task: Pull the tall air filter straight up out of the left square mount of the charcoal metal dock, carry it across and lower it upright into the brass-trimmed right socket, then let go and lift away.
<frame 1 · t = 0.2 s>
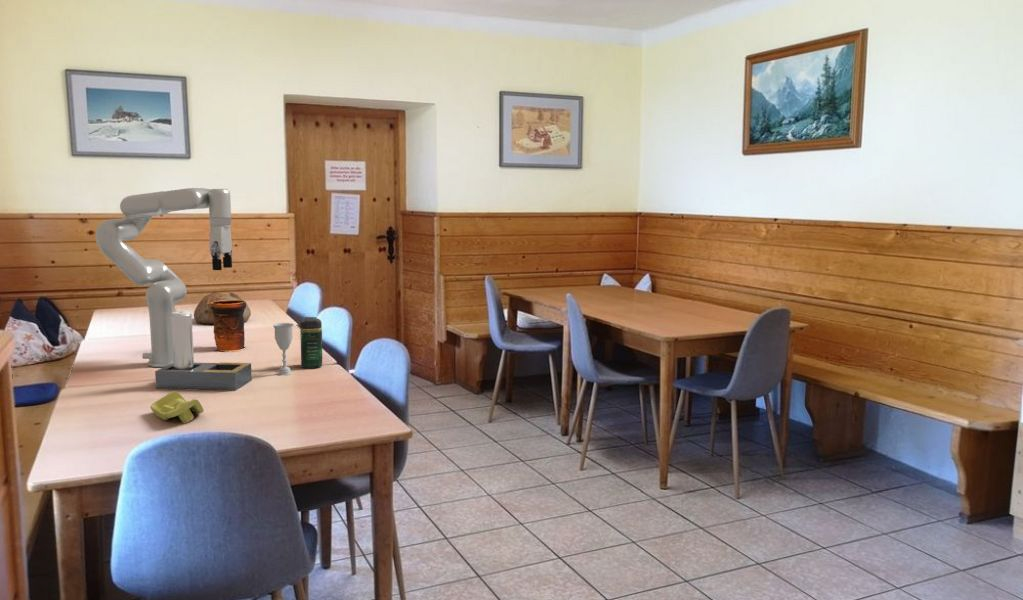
hand: (222, 268, 292), 37 cm above the table, tool pointing down, fingers open, 9 cm apart
chalice: (284, 374, 284), on the table
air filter: (184, 384, 268), resting in dock
dock: (205, 384, 267), on the table
coffee jar: (312, 366, 297), on the table
bread: (222, 322, 395), on the table
vessel: (230, 349, 329), on the table
plastic component: (178, 419, 228), on the table
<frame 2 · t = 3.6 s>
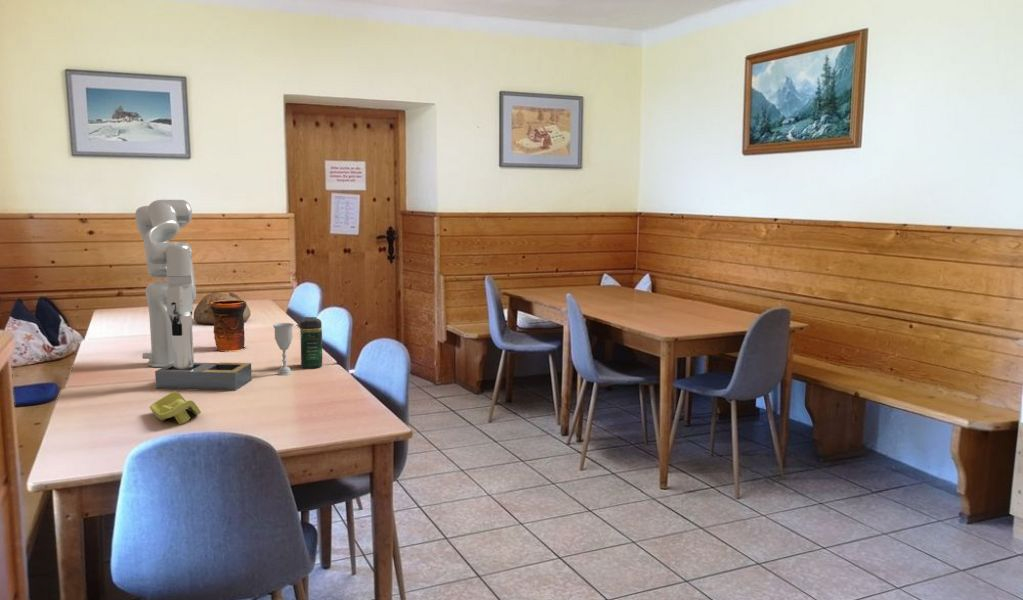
hand: (182, 333, 265), 18 cm above the table, tool pointing down, fingers closed on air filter, 6 cm apart
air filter: (185, 384, 268), resting in dock, touching gripper
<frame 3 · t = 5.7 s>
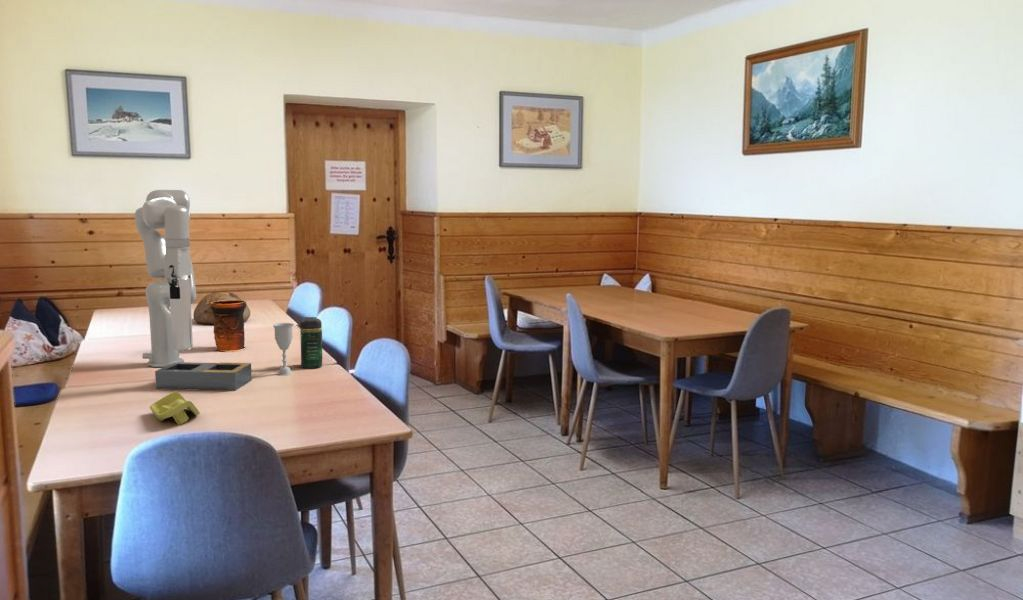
hand: (180, 296, 264), 30 cm above the table, tool pointing down, fingers closed on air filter, 6 cm apart
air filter: (182, 348, 267), point 12 cm above the table, touching gripper
when the fingers open (18 cm above the table, at t = 9.7 s): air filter stays where it is, resting in dock.
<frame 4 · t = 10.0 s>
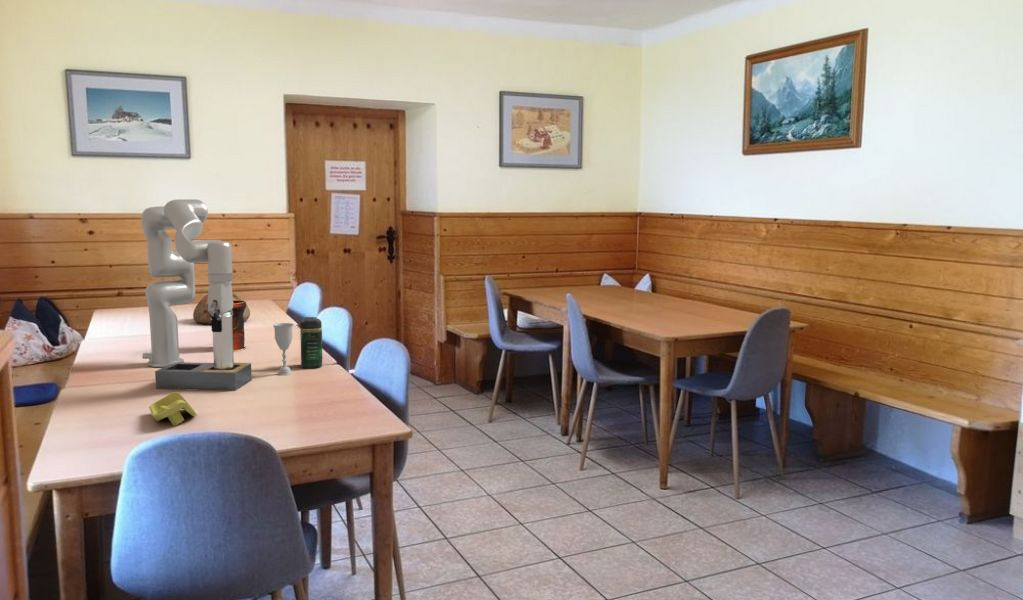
hand: (222, 329, 264), 19 cm above the table, tool pointing down, fingers open, 9 cm apart
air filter: (224, 385, 267), resting in dock
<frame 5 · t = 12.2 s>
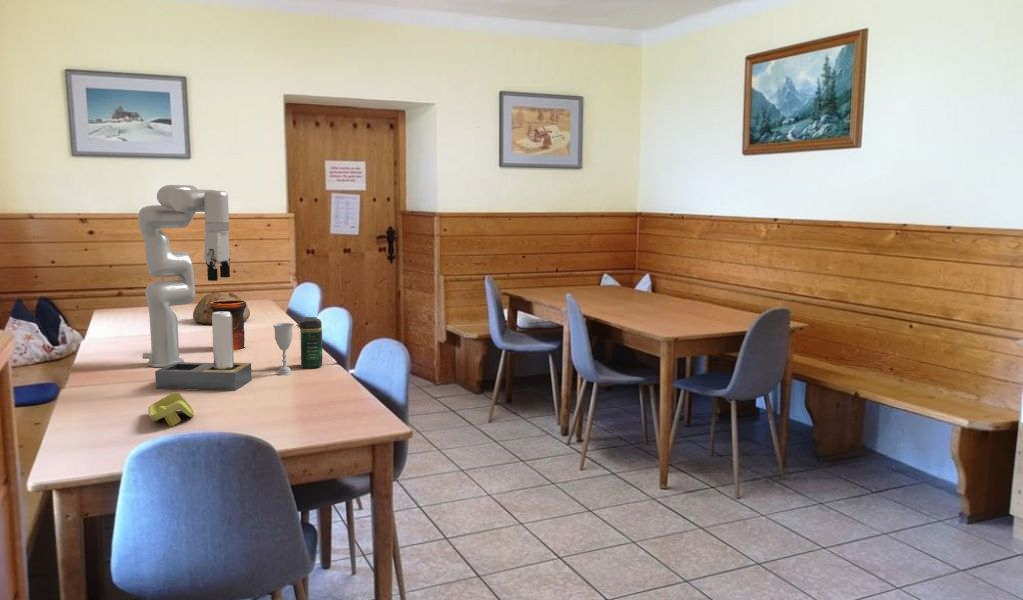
hand: (219, 278, 264), 36 cm above the table, tool pointing down, fingers open, 9 cm apart
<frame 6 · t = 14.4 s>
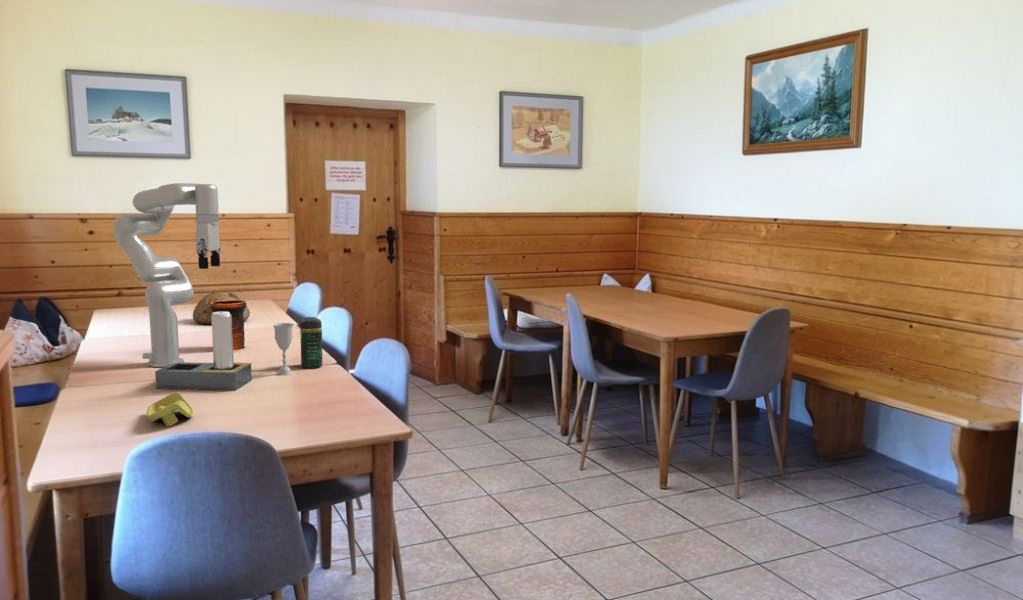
hand: (209, 267, 280), 38 cm above the table, tool pointing down, fingers open, 9 cm apart
at the end: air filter 0.2 cm from the target spot on the dock, point 0.0 cm above the dock's base; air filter tilted 0°; the gripper is holding nothing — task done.
